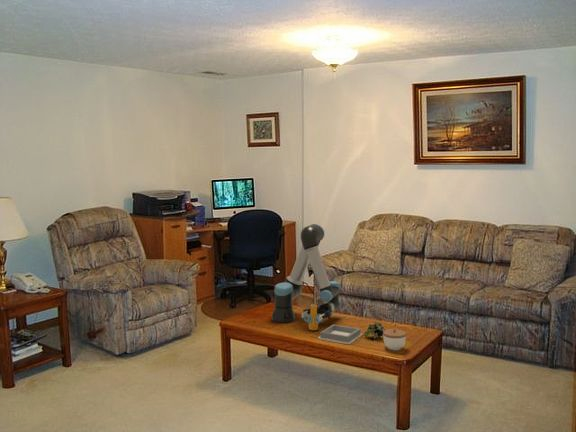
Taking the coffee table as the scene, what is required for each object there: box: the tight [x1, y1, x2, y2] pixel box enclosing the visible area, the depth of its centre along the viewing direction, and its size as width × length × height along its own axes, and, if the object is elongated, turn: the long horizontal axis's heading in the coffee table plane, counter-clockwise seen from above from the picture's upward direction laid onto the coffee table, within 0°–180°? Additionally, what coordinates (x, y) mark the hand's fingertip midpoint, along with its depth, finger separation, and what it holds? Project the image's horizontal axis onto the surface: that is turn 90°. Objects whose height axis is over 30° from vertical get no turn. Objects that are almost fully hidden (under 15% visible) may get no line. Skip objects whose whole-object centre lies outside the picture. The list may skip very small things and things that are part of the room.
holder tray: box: [317, 324, 364, 345], centre depth 340 cm, size 20×20×4 cm
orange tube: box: [303, 303, 325, 331], centre depth 352 cm, size 12×10×15 cm
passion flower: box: [363, 322, 386, 340], centre depth 337 cm, size 11×11×12 cm
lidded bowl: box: [382, 328, 407, 351], centre depth 320 cm, size 13×13×11 cm
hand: (310, 317), depth 349 cm, fingers closed on orange tube, 11 cm apart
